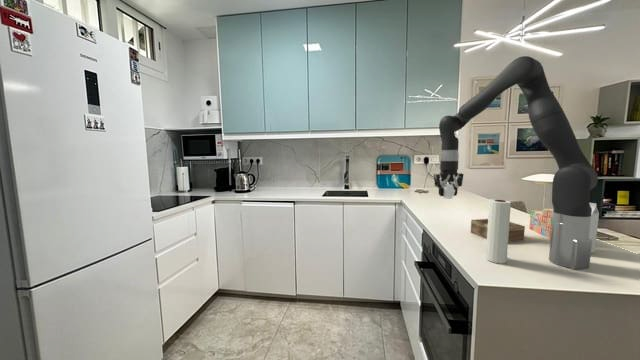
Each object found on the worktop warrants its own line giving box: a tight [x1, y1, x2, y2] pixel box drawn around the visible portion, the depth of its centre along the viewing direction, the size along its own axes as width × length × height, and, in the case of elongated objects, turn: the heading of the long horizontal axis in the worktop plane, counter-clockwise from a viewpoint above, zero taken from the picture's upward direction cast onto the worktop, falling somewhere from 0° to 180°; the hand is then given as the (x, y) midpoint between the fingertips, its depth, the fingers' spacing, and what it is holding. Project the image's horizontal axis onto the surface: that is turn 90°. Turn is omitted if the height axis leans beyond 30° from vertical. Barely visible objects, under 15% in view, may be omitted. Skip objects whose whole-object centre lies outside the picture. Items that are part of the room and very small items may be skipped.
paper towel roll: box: [485, 197, 512, 264], centre depth 92 cm, size 7×6×21 cm
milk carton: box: [589, 202, 600, 254], centre depth 99 cm, size 7×7×19 cm
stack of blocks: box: [529, 208, 553, 240], centre depth 118 cm, size 21×6×12 cm, turn 169°
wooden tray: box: [470, 218, 526, 243], centre depth 118 cm, size 14×14×6 cm
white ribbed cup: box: [442, 182, 455, 200], centre depth 124 cm, size 6×6×7 cm
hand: (447, 195), depth 124 cm, fingers closed on white ribbed cup, 6 cm apart
